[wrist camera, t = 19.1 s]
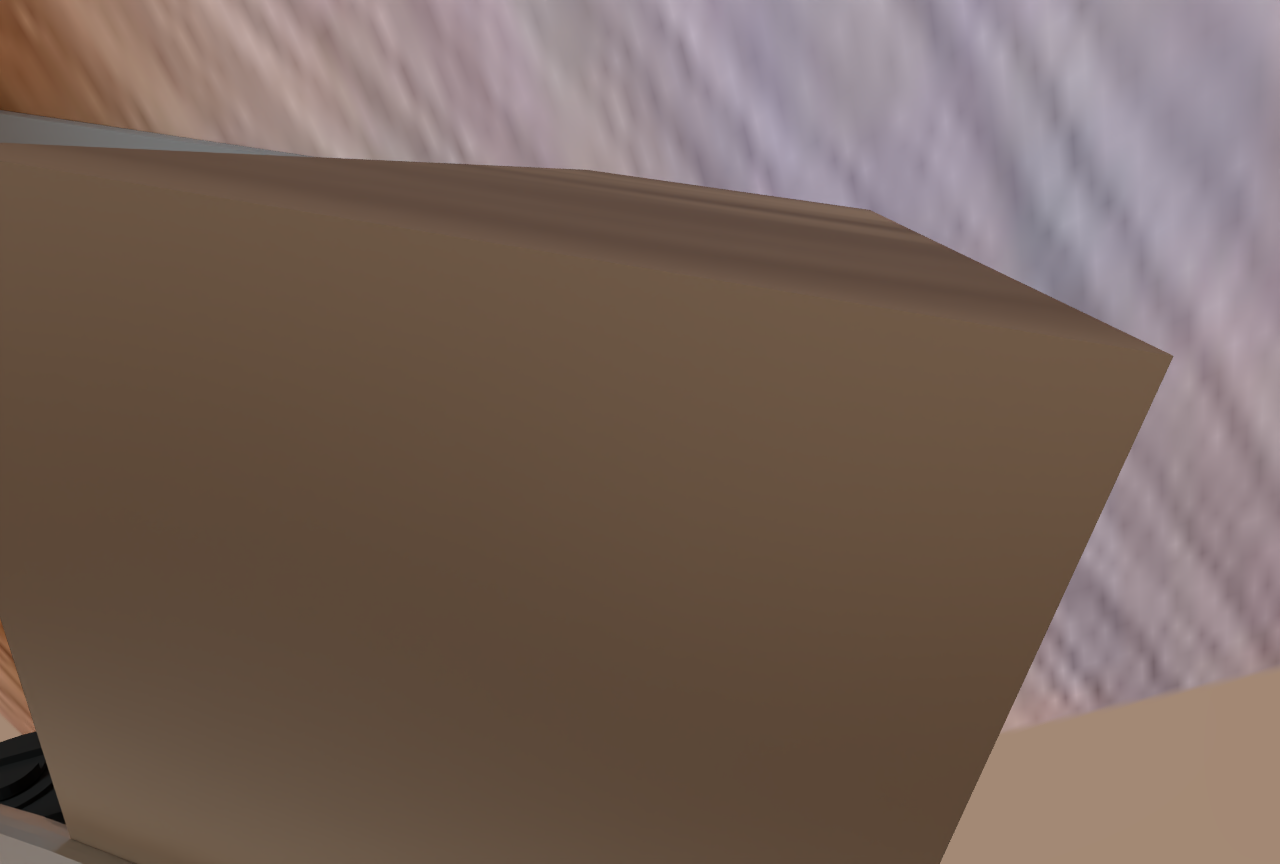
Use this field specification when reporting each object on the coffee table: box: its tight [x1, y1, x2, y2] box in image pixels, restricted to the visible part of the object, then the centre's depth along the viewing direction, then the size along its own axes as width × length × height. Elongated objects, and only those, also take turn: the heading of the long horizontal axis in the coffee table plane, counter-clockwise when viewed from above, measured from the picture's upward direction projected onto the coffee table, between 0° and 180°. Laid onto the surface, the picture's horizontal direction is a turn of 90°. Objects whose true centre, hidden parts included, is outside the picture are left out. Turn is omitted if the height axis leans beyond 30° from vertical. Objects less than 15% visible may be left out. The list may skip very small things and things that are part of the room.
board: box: [0, 110, 311, 157], centre depth 23 cm, size 23×18×2 cm
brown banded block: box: [0, 143, 1173, 864], centre depth 10 cm, size 14×5×10 cm, turn 173°
